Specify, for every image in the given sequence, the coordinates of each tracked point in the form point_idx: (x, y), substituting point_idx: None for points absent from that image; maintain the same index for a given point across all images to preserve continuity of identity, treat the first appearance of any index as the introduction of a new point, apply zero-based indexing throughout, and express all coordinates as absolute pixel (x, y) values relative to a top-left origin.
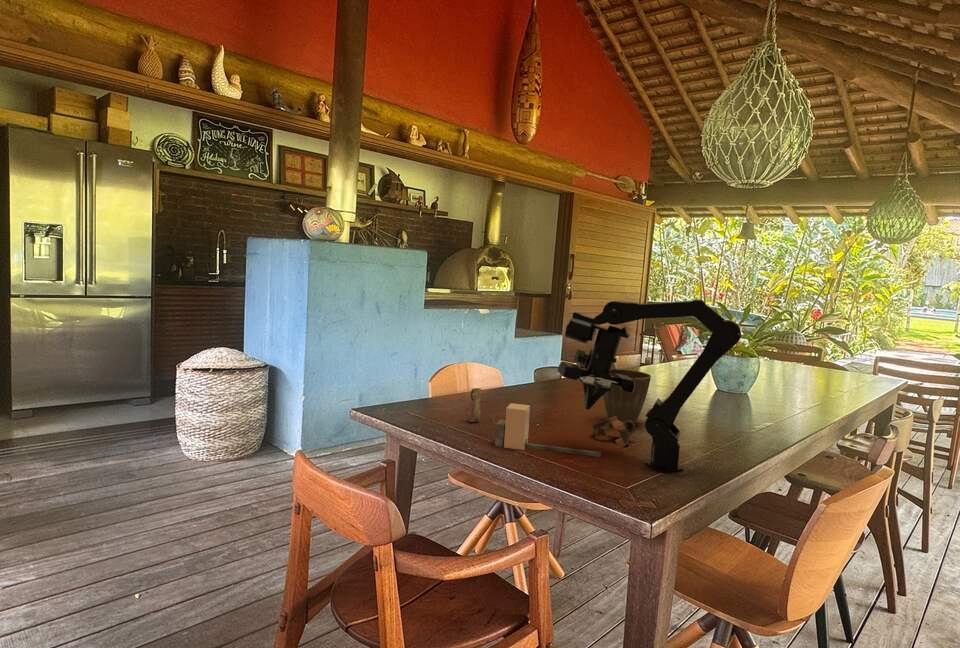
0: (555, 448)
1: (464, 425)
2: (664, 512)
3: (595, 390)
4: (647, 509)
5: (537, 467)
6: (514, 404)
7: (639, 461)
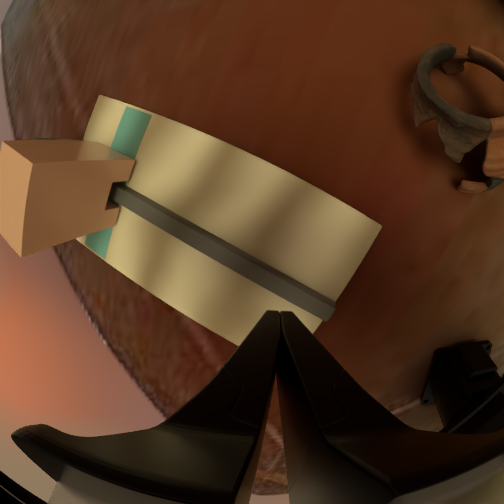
0: (191, 246)
1: (75, 11)
2: (288, 491)
3: (300, 480)
4: (270, 484)
5: (138, 326)
6: (5, 159)
7: (437, 328)
